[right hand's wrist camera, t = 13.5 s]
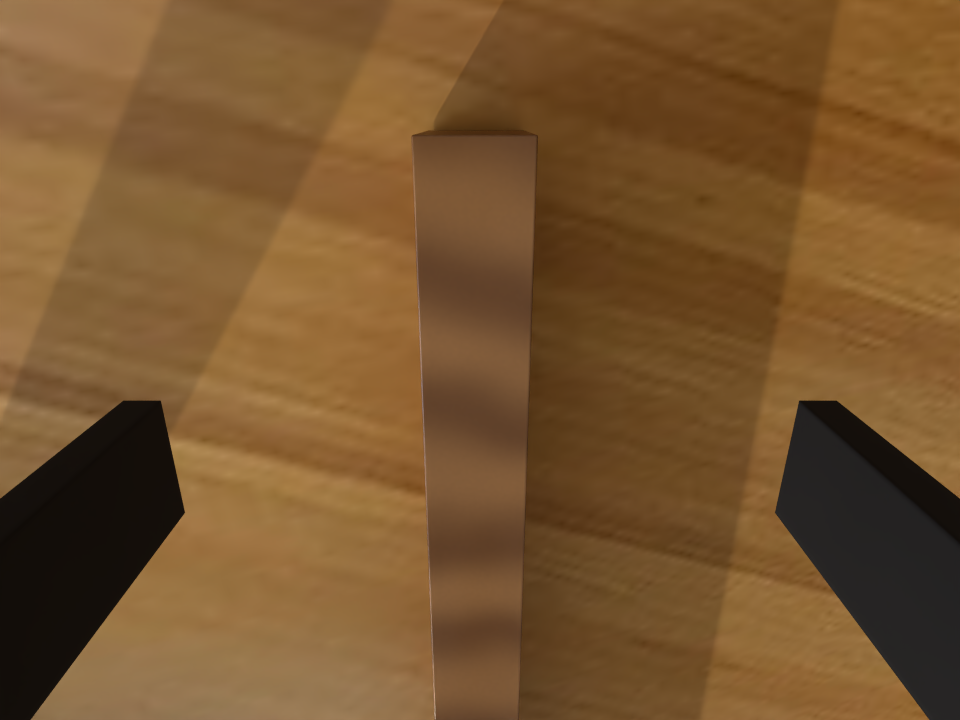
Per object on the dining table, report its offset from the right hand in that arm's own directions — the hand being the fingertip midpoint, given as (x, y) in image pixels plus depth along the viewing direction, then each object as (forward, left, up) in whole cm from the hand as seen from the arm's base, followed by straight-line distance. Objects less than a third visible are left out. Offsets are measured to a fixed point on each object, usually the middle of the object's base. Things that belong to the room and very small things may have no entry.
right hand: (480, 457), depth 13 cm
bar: (+18, +20, -22) cm, 35 cm away
